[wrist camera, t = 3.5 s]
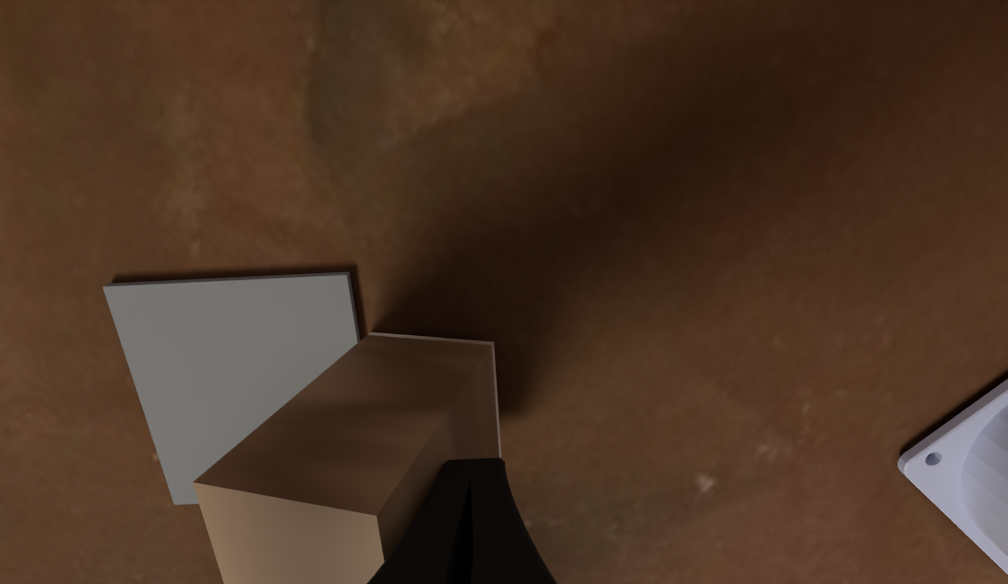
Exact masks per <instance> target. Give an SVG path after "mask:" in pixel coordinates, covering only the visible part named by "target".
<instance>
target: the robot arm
mask: <svg viewBox="0 0 1008 584" xmlns="http://www.w3.org/2000/svg"><path fill="white" fill-rule="evenodd" d="M931 453H932V454H931ZM929 454H931V455H930V456H928V455H929ZM927 456H928V457H927ZM898 468H899V470H900V471H901V472H902V473H903V474H904V475H905V476H906V477H907V478H908V479H909V480H910V481H911V482H912V483H913V484H914V485H915V486H916V487H917V488H919V489H920V490H921V491H922V492H923V493H924V494H925V495H926V496H927V497H928V498H929V499H930V500H931V501H932V502H933V503H934V504H935V505H936V506H937V507H938V508H939V509H940V510H941V511H942V512H943V513H944V514H945V515H947V516H948V517H949V518H950V519H951V520H952V521H953V522H954V523H955V524H956V525H957V526H958V527H959V528H960V529H961V530H962V531H963V532H964V533H965V534H966V535H967V536H968V537H969V538H970V539H971V540H972V541H974V542H975V543H976V544H977V545H978V546H979V547H980V548H981V549H982V550H983V551H984V552H985V553H986V554H987V555H988V556H989V557H990V558H991V559H992V560H993V561H994V562H995V563H996V564H997V565H998V566H999V567H1001V568H1002V569H1003V570H1004V571H1005V572H1006V573H1007V574H1008V379H1007V380H1005V381H1004V382H1003V383H1001V384H1000V385H998V386H997V387H996V388H994V389H993V390H991V391H990V392H989V393H987V394H986V395H984V396H983V397H982V398H980V399H979V400H977V401H976V402H975V403H973V404H972V405H971V406H969V407H968V408H966V409H965V410H964V411H962V412H961V413H959V414H958V415H957V416H955V417H954V418H952V419H951V420H950V421H948V422H947V423H945V424H944V425H943V426H941V427H940V428H938V429H937V430H936V431H934V432H933V433H932V434H930V435H929V436H927V437H926V438H925V439H923V440H922V441H920V442H919V443H918V444H916V445H915V446H913V447H912V448H911V449H909V450H908V451H906V452H905V453H904V454H903V455H902V456H901V457H900V459H899V461H898ZM367 584H557V583H556V581H555V580H554V578H553V577H552V575H551V574H550V572H549V570H548V569H547V567H546V565H545V564H544V562H543V560H542V558H541V557H540V555H539V553H538V551H537V549H536V547H535V545H534V544H533V542H532V540H531V538H530V536H529V534H528V532H527V530H526V528H525V525H524V523H523V521H522V518H521V516H520V514H519V512H518V509H517V507H516V504H515V502H514V499H513V496H512V493H511V490H510V487H509V484H508V480H507V476H506V471H505V462H504V461H503V460H502V459H501V458H479V459H456V460H447V461H446V462H445V463H444V464H443V467H442V469H441V471H440V473H439V476H438V478H437V480H436V482H435V484H434V485H433V487H432V489H431V491H430V493H429V495H428V496H427V498H426V500H425V502H424V503H423V505H422V507H421V508H420V510H419V512H418V513H417V515H416V517H415V518H414V520H413V521H412V523H411V525H410V526H409V528H408V529H407V531H406V532H405V534H404V535H403V536H402V538H401V539H400V541H399V542H398V544H397V545H396V546H395V548H394V549H393V551H392V552H391V554H390V555H389V556H388V558H387V559H386V560H385V562H384V563H383V564H382V566H381V567H380V568H379V569H378V571H377V572H376V573H375V574H374V576H373V577H372V578H371V579H370V580H369V582H368V583H367Z"/></svg>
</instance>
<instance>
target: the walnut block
mask: <svg viewBox="0 0 1008 584" xmlns="http://www.w3.org/2000/svg"><path fill="white" fill-rule="evenodd" d="M479 458H501V442H500V427H499V411H498V396H497V381H496V365H495V350H494V342H489V341H476V340H464V339H451V338H438V337H426V336H413V335H400V334H388V333H375V332H370V333H369V334H368V335H367V336H365V337H364V338H363V339H362V340H361V341H359V342H358V343H357V344H356V345H355V346H353V347H352V348H351V349H350V350H349V351H348V352H346V353H345V354H344V355H343V356H342V357H340V358H339V359H338V360H337V361H336V362H335V363H333V364H332V365H331V366H330V367H329V368H327V369H326V370H325V371H324V372H323V373H321V374H320V375H319V376H318V377H317V378H316V379H314V380H313V381H312V382H311V383H310V384H308V385H307V386H306V387H305V388H304V389H302V390H301V391H300V392H299V393H298V394H297V395H295V396H294V397H293V398H292V399H291V400H289V401H288V402H287V403H286V404H285V405H284V406H282V407H281V408H280V409H279V410H278V411H276V412H275V413H274V414H273V415H272V416H270V417H269V418H268V419H267V420H266V421H265V422H263V423H262V424H261V425H260V426H259V427H257V428H256V429H255V430H254V431H253V432H252V433H250V434H249V435H248V436H247V437H246V438H244V439H243V440H242V441H241V442H240V443H238V444H237V445H236V446H235V447H234V448H233V449H231V450H230V451H229V452H228V453H227V454H225V455H224V456H223V457H222V458H221V459H219V460H218V461H217V462H216V463H215V464H214V465H212V466H211V467H210V468H209V469H208V470H206V471H205V472H204V473H203V474H202V475H201V476H199V477H198V478H197V479H196V480H195V481H193V485H194V489H195V492H196V495H197V498H198V501H199V505H200V508H201V511H202V514H203V518H204V521H205V524H206V527H207V530H208V534H209V537H210V540H211V543H212V546H213V550H214V553H215V556H216V559H217V563H218V566H219V569H220V572H221V575H222V579H223V582H224V584H367V583H368V582H369V580H370V579H371V578H372V577H373V576H374V574H375V573H376V572H377V571H378V569H379V568H380V567H381V566H382V564H383V563H384V562H385V560H386V559H387V558H388V556H389V555H390V554H391V552H392V551H393V549H394V548H395V546H396V545H397V544H398V542H399V541H400V539H401V538H402V536H403V535H404V534H405V532H406V531H407V529H408V528H409V526H410V525H411V523H412V521H413V520H414V518H415V517H416V515H417V513H418V512H419V510H420V508H421V507H422V505H423V503H424V502H425V500H426V498H427V496H428V495H429V493H430V491H431V489H432V487H433V485H434V484H435V482H436V480H437V478H438V476H439V473H440V471H441V469H442V467H443V464H444V463H445V462H446V461H447V460H456V459H479Z"/></svg>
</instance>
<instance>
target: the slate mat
mask: <svg viewBox="0 0 1008 584" xmlns="http://www.w3.org/2000/svg"><path fill="white" fill-rule="evenodd" d="M103 289H104V292H105V295H106V298H107V301H108V304H109V308H110V311H111V314H112V317H113V320H114V323H115V326H116V329H117V332H118V335H119V338H120V341H121V344H122V347H123V350H124V353H125V356H126V359H127V362H128V365H129V368H130V371H131V374H132V377H133V380H134V383H135V387H136V390H137V393H138V396H139V399H140V402H141V405H142V408H143V411H144V414H145V417H146V420H147V423H148V426H149V429H150V432H151V435H152V438H153V441H154V444H155V447H156V450H157V453H158V456H159V459H160V462H161V466H162V469H163V472H164V475H165V478H166V481H167V484H168V487H169V490H170V493H171V496H172V499H173V502H174V505H178V504H199V501H198V498H197V495H196V492H195V489H194V485H193V481H195V480H196V479H197V478H198V477H199V476H201V475H202V474H203V473H204V472H205V471H206V470H208V469H209V468H210V467H211V466H212V465H214V464H215V463H216V462H217V461H218V460H219V459H221V458H222V457H223V456H224V455H225V454H227V453H228V452H229V451H230V450H231V449H233V448H234V447H235V446H236V445H237V444H238V443H240V442H241V441H242V440H243V439H244V438H246V437H247V436H248V435H249V434H250V433H252V432H253V431H254V430H255V429H256V428H257V427H259V426H260V425H261V424H262V423H263V422H265V421H266V420H267V419H268V418H269V417H270V416H272V415H273V414H274V413H275V412H276V411H278V410H279V409H280V408H281V407H282V406H284V405H285V404H286V403H287V402H288V401H289V400H291V399H292V398H293V397H294V396H295V395H297V394H298V393H299V392H300V391H301V390H302V389H304V388H305V387H306V386H307V385H308V384H310V383H311V382H312V381H313V380H314V379H316V378H317V377H318V376H319V375H320V374H321V373H323V372H324V371H325V370H326V369H327V368H329V367H330V366H331V365H332V364H333V363H335V362H336V361H337V360H338V359H339V358H340V357H342V356H343V355H344V354H345V353H346V352H348V351H349V350H350V349H351V348H352V347H353V346H355V345H356V344H357V343H358V342H359V341H360V335H359V329H358V322H357V316H356V310H355V303H354V297H353V291H352V284H351V278H350V272H333V273H312V274H292V275H271V276H251V277H230V278H210V279H189V280H169V281H148V282H128V283H109V284H107V285H105V286H103Z"/></svg>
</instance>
